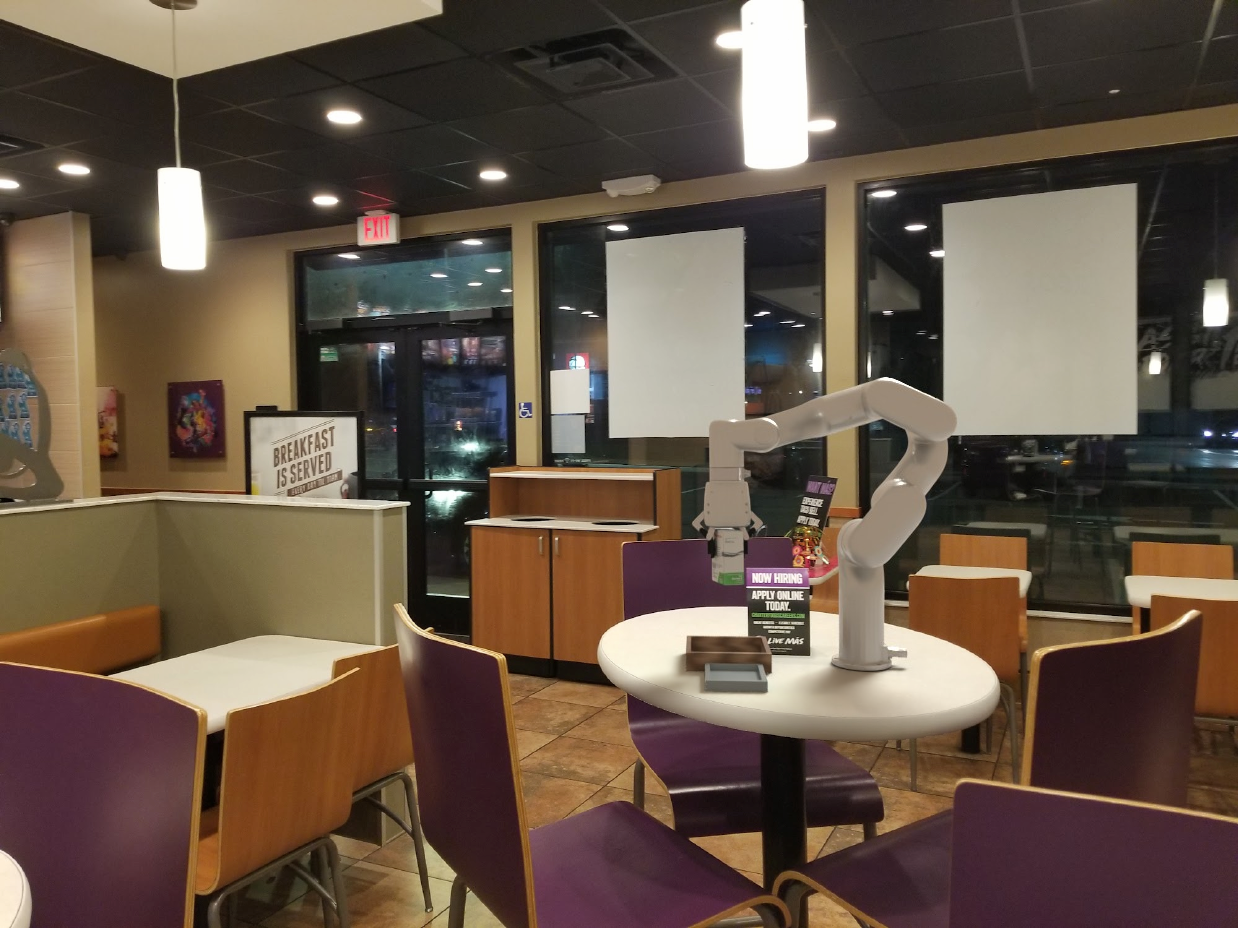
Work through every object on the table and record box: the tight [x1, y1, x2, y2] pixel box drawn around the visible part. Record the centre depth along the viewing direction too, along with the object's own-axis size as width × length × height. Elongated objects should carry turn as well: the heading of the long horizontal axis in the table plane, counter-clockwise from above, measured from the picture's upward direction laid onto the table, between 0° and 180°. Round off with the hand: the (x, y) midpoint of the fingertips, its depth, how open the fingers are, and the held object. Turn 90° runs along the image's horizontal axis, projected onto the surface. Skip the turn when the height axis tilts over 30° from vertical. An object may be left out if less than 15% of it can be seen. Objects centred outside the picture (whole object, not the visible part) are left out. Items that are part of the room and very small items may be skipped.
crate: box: [685, 635, 773, 674], centre depth 193 cm, size 18×17×4 cm
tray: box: [704, 663, 769, 693], centre depth 177 cm, size 12×14×2 cm
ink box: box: [711, 528, 745, 586], centre depth 192 cm, size 9×5×12 cm, turn 11°
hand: (727, 556), depth 192 cm, fingers closed on ink box, 6 cm apart
